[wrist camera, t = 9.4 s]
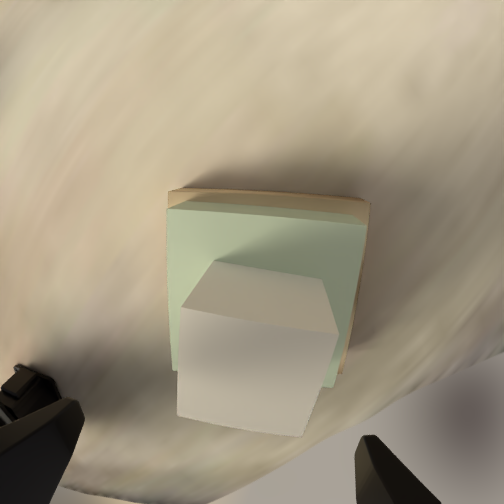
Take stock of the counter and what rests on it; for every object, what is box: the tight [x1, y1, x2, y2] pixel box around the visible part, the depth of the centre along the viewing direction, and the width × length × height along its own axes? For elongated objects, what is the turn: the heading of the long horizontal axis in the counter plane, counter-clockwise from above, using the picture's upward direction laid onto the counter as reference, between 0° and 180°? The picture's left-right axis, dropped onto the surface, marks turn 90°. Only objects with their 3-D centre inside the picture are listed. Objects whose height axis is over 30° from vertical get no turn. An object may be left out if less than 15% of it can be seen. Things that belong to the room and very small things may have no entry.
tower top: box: [167, 201, 367, 388], centre depth 16 cm, size 9×9×3 cm
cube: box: [177, 261, 339, 437], centre depth 12 cm, size 5×5×5 cm
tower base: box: [168, 188, 371, 374], centre depth 19 cm, size 11×11×3 cm
